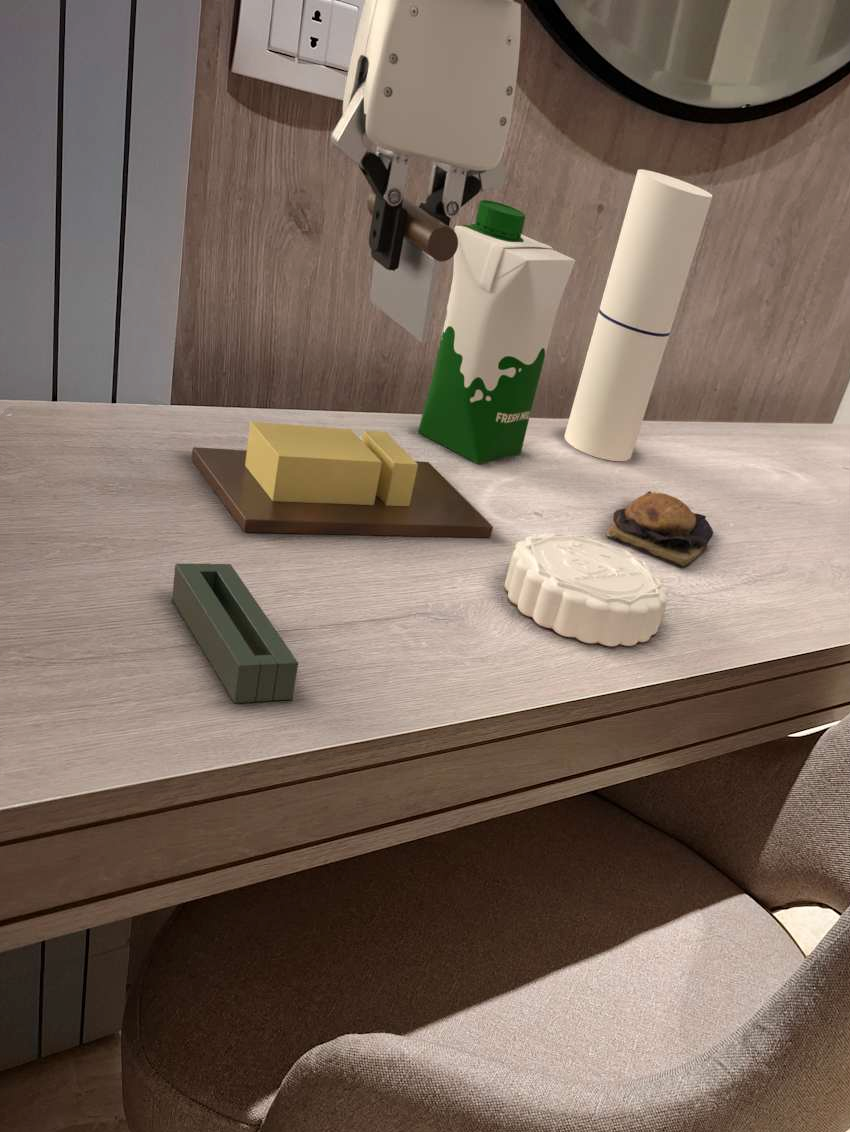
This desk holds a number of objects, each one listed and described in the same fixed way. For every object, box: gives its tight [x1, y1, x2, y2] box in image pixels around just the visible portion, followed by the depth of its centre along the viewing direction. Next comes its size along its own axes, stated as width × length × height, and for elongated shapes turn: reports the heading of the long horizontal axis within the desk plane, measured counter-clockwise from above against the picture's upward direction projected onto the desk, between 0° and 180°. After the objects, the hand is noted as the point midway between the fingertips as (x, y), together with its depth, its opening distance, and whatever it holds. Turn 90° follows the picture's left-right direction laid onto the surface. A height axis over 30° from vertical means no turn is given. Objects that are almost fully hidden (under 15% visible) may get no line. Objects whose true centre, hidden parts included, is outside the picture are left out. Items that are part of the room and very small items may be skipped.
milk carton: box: [417, 199, 576, 465], centre depth 105 cm, size 9×9×20 cm
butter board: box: [191, 446, 494, 538], centre depth 92 cm, size 20×12×1 cm, turn 123°
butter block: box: [245, 421, 382, 505], centre depth 89 cm, size 8×6×4 cm
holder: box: [171, 562, 299, 704], centre depth 70 cm, size 3×12×2 cm, turn 33°
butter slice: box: [360, 430, 418, 506], centre depth 92 cm, size 2×6×4 cm, turn 33°
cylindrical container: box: [563, 169, 713, 462], centre depth 114 cm, size 7×7×25 cm
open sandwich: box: [606, 490, 714, 567], centre depth 105 cm, size 11×8×4 cm
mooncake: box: [504, 531, 669, 647], centre depth 88 cm, size 12×12×4 cm
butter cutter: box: [366, 190, 458, 344], centre depth 82 cm, size 2×10×8 cm, turn 33°
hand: (403, 265), depth 82 cm, fingers closed on butter cutter, 2 cm apart
